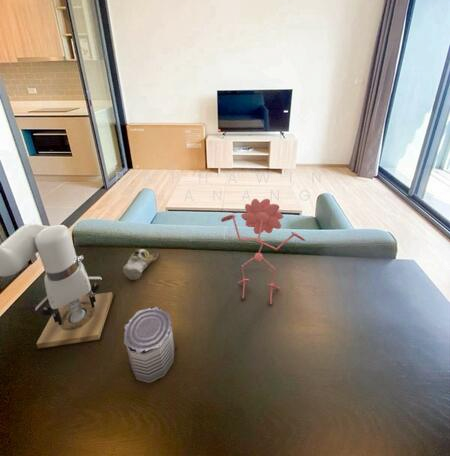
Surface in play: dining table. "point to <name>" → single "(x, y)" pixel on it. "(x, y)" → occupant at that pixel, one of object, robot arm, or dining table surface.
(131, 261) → the ceramic sculpture
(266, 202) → the figurine
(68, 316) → the wooden board with hole
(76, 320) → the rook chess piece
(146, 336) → the can
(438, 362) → the dining table surface
